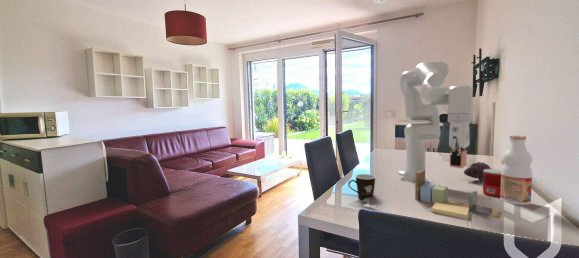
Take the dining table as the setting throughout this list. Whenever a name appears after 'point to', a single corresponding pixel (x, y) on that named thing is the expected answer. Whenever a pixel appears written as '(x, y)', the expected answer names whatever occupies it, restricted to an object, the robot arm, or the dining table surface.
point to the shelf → (421, 180)
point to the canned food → (492, 182)
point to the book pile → (451, 210)
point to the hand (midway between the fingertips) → (458, 163)
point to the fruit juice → (516, 173)
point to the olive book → (439, 194)
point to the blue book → (426, 192)
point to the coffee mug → (364, 185)
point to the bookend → (474, 207)
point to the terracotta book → (463, 159)
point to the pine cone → (476, 170)
